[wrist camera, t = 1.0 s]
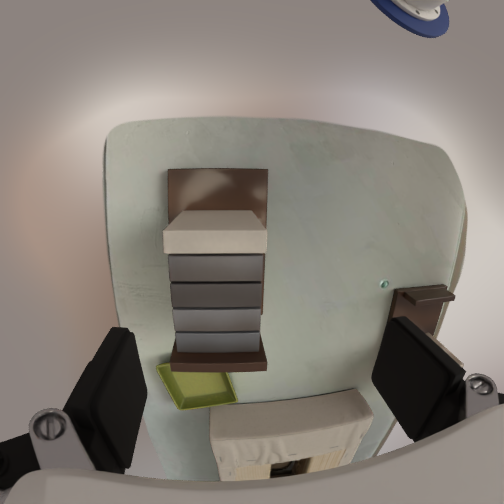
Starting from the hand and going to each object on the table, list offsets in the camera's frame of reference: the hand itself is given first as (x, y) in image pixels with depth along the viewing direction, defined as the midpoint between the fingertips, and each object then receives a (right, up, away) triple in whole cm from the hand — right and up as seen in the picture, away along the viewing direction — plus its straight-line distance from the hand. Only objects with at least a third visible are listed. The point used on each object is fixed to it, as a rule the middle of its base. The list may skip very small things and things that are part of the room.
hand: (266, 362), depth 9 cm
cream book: (-4, +7, +19) cm, 21 cm away
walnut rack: (-4, +5, +21) cm, 22 cm away
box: (+5, -33, +32) cm, 46 cm away
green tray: (-8, -13, +25) cm, 29 cm away
